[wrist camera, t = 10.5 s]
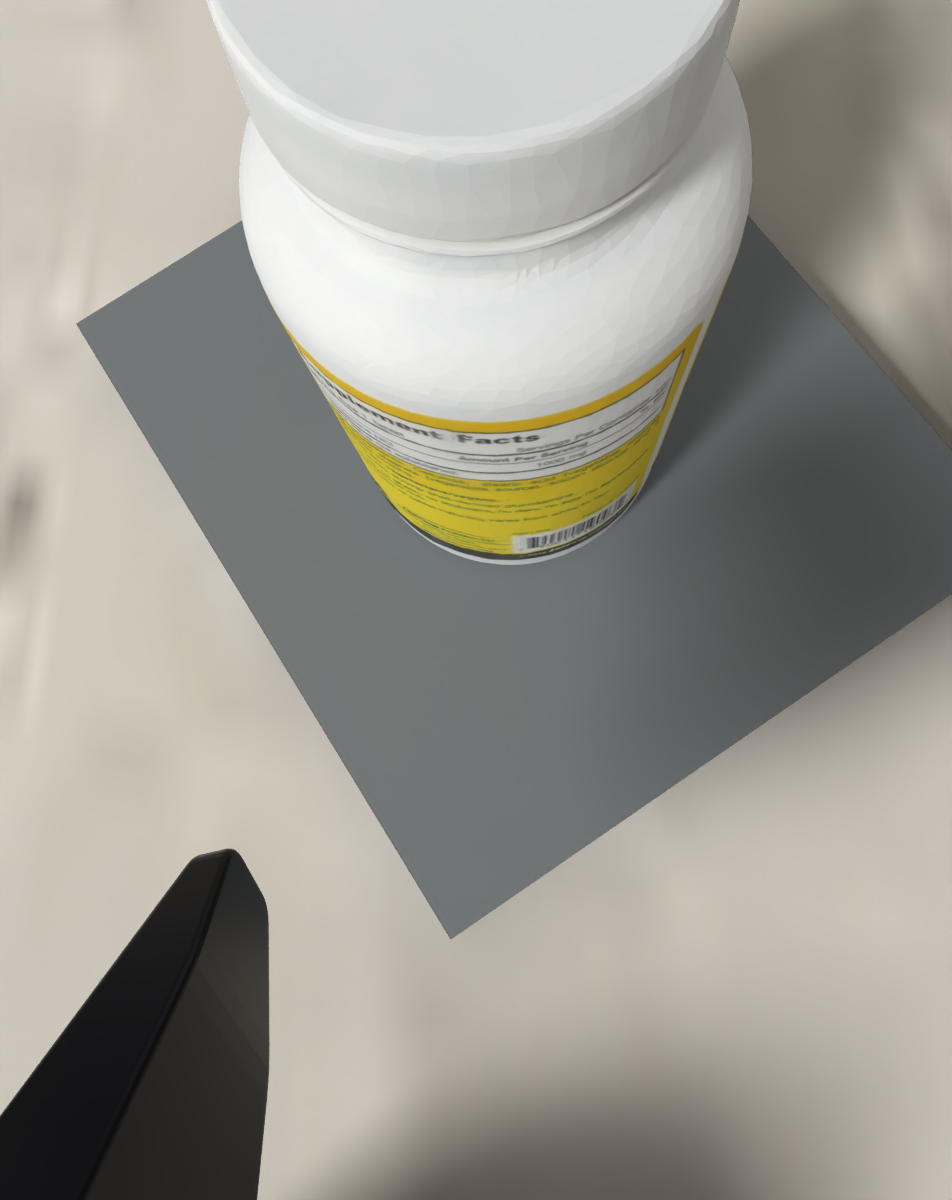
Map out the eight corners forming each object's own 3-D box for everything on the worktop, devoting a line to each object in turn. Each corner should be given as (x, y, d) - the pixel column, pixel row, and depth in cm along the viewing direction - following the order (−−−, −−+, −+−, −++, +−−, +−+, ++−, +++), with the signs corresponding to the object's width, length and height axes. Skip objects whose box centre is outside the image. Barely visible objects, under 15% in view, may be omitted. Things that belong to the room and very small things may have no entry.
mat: (1001, 552, 17) (1030, 539, 16) (455, 928, 16) (450, 939, 15) (570, 50, 20) (572, 14, 19) (99, 345, 20) (75, 323, 19)
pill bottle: (462, 260, 18) (362, -466, 7) (706, 382, 17) (997, -249, 6) (314, 484, 17) (-40, 33, 7) (562, 627, 16) (619, 370, 6)
